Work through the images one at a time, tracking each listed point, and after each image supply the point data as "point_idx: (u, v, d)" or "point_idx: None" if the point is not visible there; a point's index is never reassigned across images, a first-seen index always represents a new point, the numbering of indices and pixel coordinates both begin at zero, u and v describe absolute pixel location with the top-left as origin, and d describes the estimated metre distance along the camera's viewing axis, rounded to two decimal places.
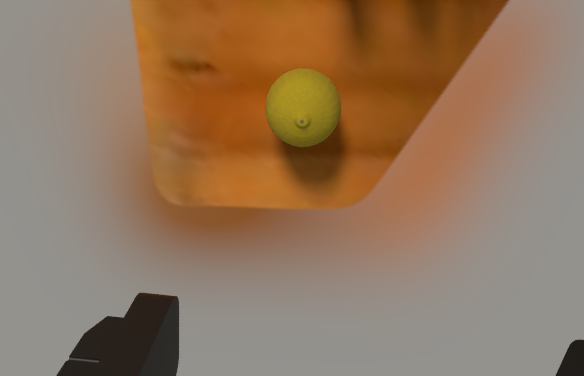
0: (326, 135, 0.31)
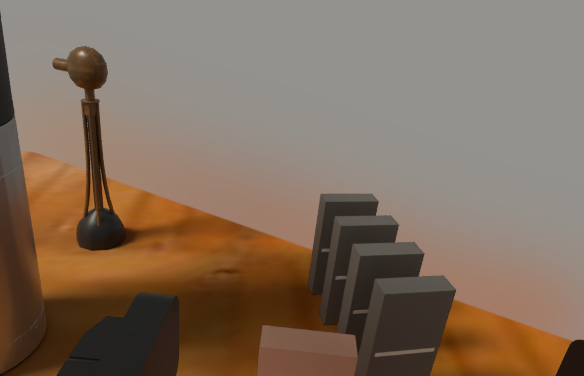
0: None
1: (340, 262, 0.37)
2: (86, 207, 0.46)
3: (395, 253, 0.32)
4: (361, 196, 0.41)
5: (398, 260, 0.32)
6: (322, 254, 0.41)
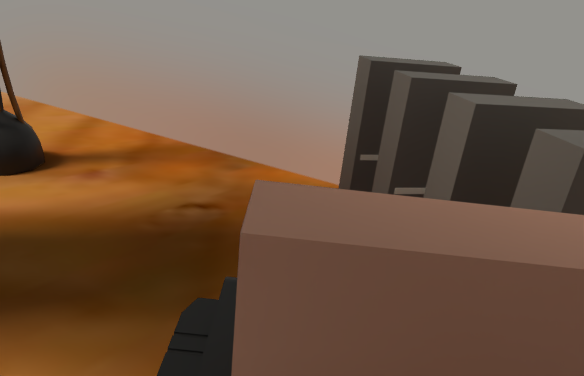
0: None
1: (405, 158, 0.19)
2: None
3: (545, 106, 0.15)
4: (429, 62, 0.23)
5: (550, 122, 0.15)
6: (361, 165, 0.24)
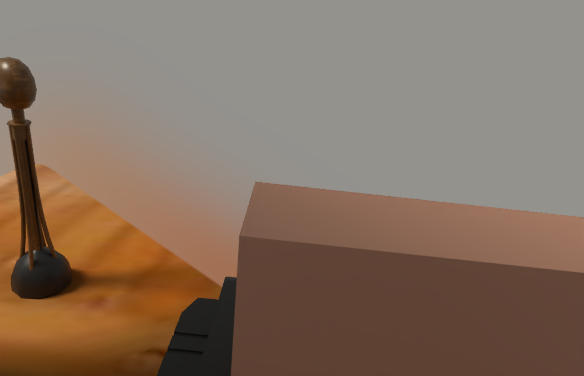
0: None
1: None
2: (22, 246, 0.39)
3: None
4: None
5: None
6: None
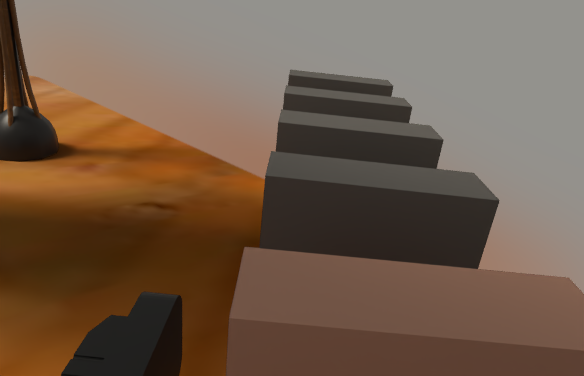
0: None
1: None
2: (0, 101, 0.34)
3: (369, 130, 0.14)
4: (364, 79, 0.22)
5: (375, 148, 0.14)
6: None
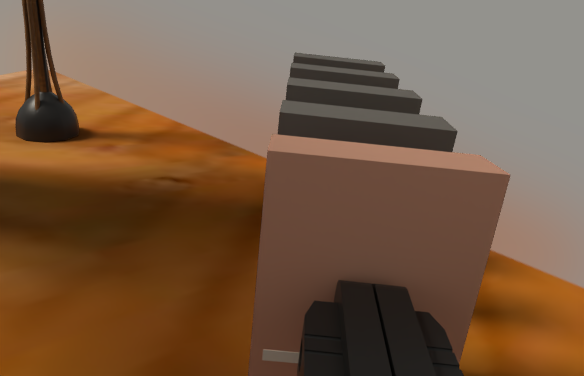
0: None
1: None
2: (27, 87, 0.37)
3: (361, 91, 0.17)
4: (360, 61, 0.25)
5: (367, 107, 0.17)
6: None
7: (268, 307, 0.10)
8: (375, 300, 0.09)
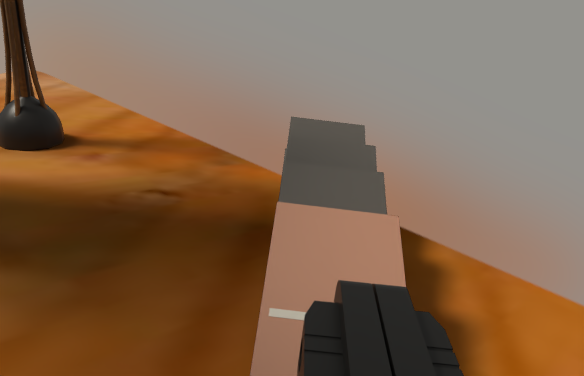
0: None
1: None
2: (7, 92, 0.34)
3: None
4: None
5: (342, 147, 0.26)
6: None
7: (274, 278, 0.16)
8: (375, 300, 0.09)
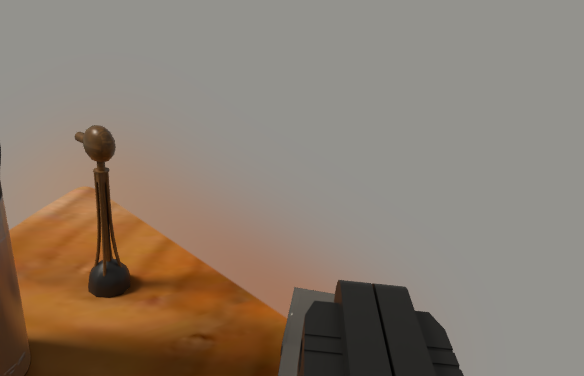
0: None
1: None
2: (97, 258, 0.52)
3: None
4: None
5: None
6: None
7: None
8: (375, 300, 0.09)
